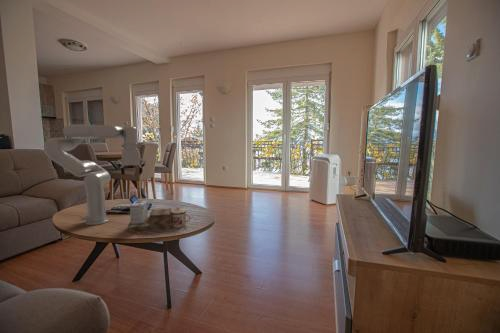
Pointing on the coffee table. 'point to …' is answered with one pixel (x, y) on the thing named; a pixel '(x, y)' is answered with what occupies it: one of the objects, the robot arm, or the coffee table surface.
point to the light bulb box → (138, 212)
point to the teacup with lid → (178, 217)
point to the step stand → (153, 221)
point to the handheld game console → (137, 200)
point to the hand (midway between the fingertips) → (132, 174)
